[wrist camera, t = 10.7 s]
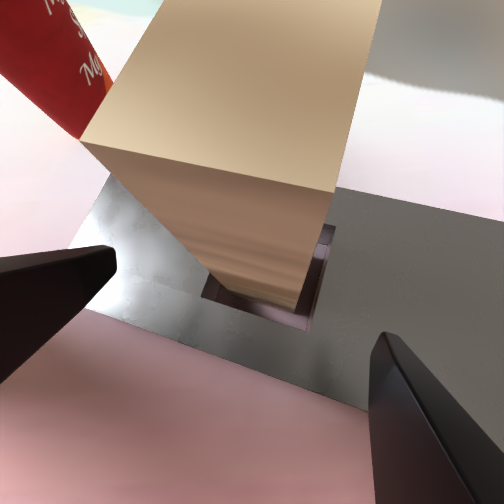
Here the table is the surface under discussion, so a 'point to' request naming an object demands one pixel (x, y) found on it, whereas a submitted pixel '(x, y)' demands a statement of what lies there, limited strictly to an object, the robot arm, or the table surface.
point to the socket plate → (330, 297)
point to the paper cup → (52, 61)
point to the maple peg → (239, 130)
